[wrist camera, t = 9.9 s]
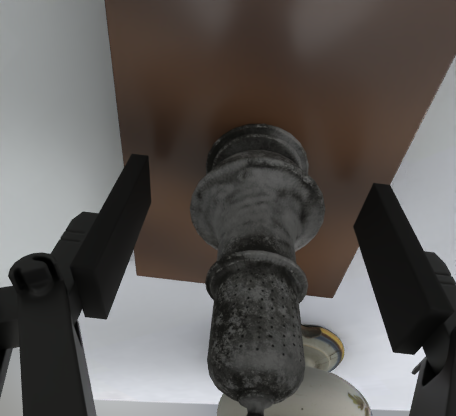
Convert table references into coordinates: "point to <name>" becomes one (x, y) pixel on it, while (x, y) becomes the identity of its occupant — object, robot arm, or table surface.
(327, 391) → the apothecary jar
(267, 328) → the grey tapered rounded piece
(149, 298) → the table surface
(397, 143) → the walnut board
